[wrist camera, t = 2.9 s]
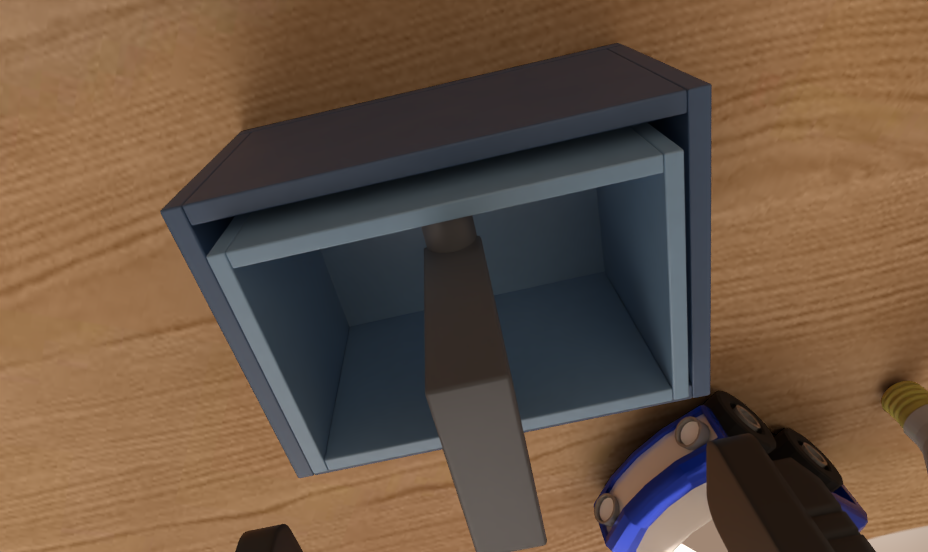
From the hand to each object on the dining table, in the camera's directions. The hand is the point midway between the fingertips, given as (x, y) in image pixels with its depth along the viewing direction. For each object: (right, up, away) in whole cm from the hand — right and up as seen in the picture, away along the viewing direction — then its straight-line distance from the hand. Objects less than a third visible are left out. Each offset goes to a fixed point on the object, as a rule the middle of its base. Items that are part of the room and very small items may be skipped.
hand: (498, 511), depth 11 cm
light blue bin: (-1, +7, +12) cm, 14 cm away
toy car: (+13, -6, +21) cm, 25 cm away
